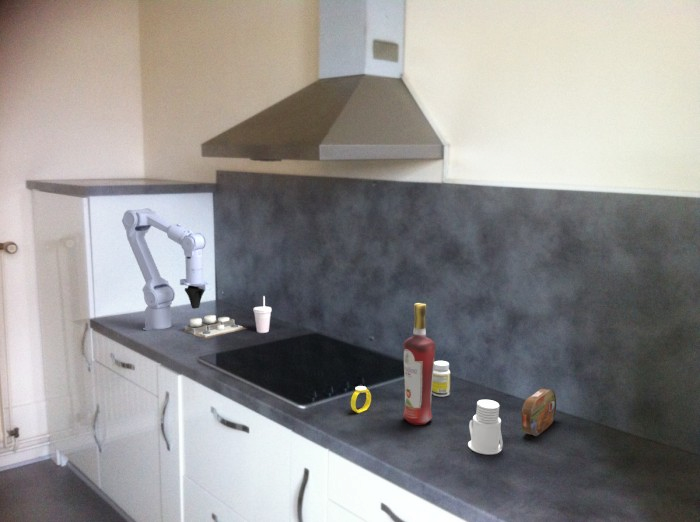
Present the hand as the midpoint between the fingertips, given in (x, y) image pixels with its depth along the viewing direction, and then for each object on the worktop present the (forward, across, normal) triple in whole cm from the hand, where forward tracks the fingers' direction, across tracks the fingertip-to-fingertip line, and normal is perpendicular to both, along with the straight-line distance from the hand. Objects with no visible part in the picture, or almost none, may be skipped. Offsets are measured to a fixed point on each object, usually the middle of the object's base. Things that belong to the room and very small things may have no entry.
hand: (195, 307), depth 223 cm
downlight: (+10, +120, -12) cm, 121 cm away
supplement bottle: (+10, +94, +9) cm, 95 cm away
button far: (+8, 0, +12) cm, 14 cm away
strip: (+8, +6, +6) cm, 12 cm away
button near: (+6, 0, 0) cm, 6 cm away
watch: (+10, +86, -14) cm, 88 cm away
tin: (+10, +124, +5) cm, 124 cm away
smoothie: (+10, +17, +16) cm, 25 cm away
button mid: (+6, 0, +6) cm, 9 cm away
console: (+10, +2, +6) cm, 12 cm away
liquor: (+10, +100, -10) cm, 102 cm away
